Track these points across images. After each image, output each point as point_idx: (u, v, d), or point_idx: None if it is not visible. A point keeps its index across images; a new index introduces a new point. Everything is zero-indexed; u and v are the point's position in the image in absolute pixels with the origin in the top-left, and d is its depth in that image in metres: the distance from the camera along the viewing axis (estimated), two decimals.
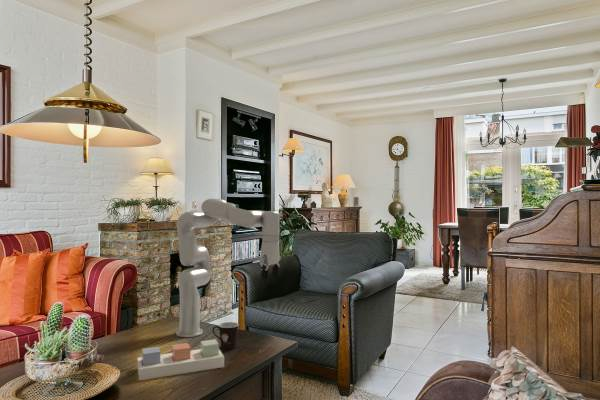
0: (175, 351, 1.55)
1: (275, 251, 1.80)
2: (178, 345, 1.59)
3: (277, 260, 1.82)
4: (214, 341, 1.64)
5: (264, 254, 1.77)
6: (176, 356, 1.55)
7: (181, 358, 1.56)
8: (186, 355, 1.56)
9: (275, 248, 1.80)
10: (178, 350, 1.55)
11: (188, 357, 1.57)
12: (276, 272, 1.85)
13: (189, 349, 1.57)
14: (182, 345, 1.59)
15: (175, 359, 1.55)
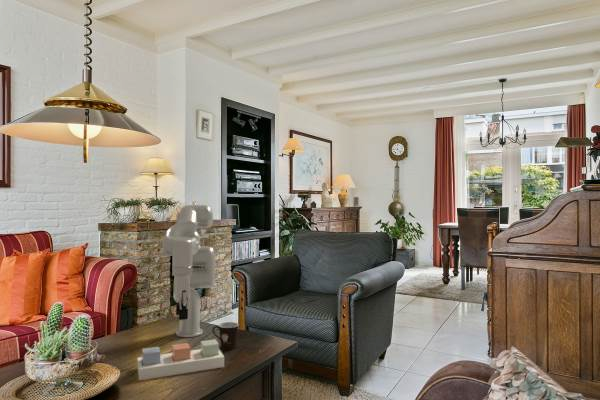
0: (175, 351, 1.55)
1: None
2: (178, 345, 1.59)
3: None
4: (214, 341, 1.64)
5: (183, 289, 1.54)
6: (176, 356, 1.55)
7: (181, 358, 1.56)
8: (186, 355, 1.56)
9: None
10: (178, 350, 1.55)
11: (188, 357, 1.57)
12: None
13: (189, 349, 1.57)
14: (182, 345, 1.59)
15: (175, 359, 1.55)
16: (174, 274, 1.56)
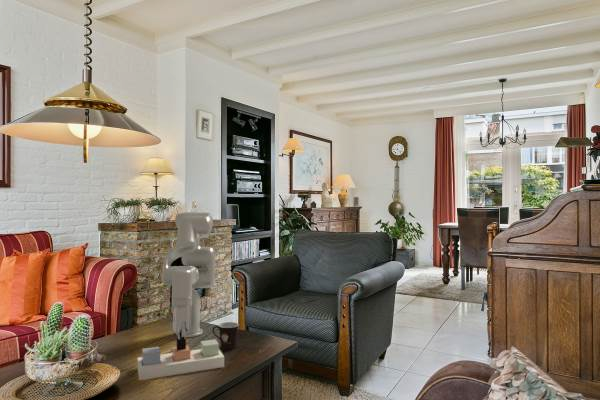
0: (175, 353, 1.55)
1: None
2: None
3: None
4: (214, 341, 1.64)
5: (183, 321, 1.54)
6: (176, 358, 1.55)
7: None
8: (186, 358, 1.56)
9: None
10: (177, 353, 1.55)
11: None
12: None
13: (189, 351, 1.57)
14: None
15: None
16: (173, 305, 1.56)
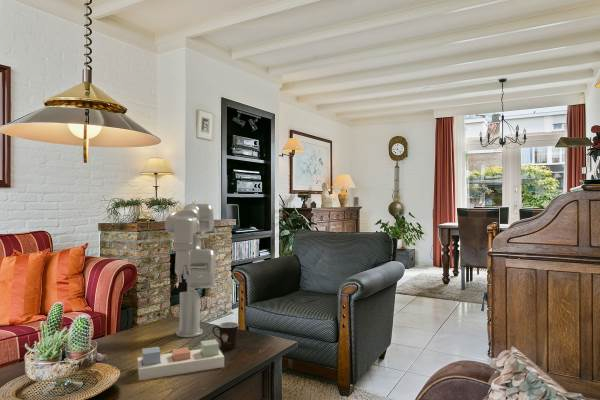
0: (175, 356, 1.55)
1: None
2: (178, 349, 1.59)
3: None
4: (214, 341, 1.64)
5: (184, 264, 1.65)
6: None
7: None
8: None
9: None
10: (177, 355, 1.55)
11: None
12: None
13: (189, 354, 1.57)
14: (182, 349, 1.59)
15: None
16: (176, 250, 1.67)
